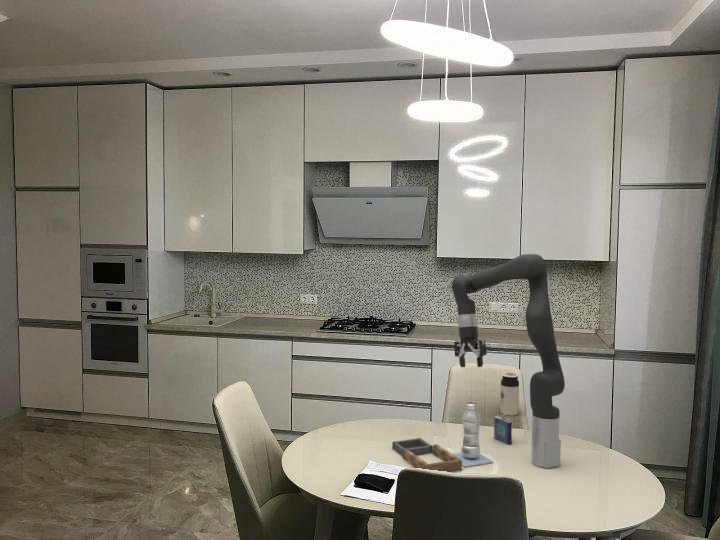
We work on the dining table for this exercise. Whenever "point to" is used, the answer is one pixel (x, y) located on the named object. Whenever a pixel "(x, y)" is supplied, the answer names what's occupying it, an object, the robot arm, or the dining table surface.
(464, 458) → the pad
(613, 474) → the dining table surface
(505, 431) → the flask
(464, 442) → the plastic bottle
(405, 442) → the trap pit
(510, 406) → the travel mug
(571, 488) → the dining table surface
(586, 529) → the dining table surface
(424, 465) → the walled lane
